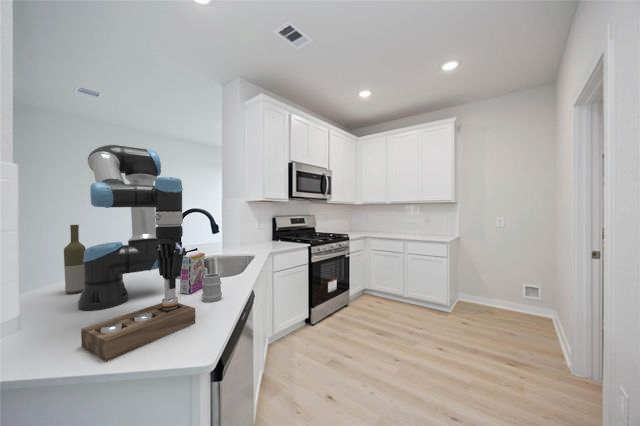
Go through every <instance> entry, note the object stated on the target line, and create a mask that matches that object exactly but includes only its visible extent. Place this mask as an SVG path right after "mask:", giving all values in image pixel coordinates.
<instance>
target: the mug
mask: <svg viewBox="0 0 640 426" xmlns="http://www.w3.org/2000/svg"><path fill="white" fill-rule="evenodd" d="M202 280H203V281H202V288H201V289H202V294H201V299H202V301H203V302H205V303H213V302H217V301H219V300H221V299H222V295H223V293H222V289H221V284H222V281H221V274H220V273H209V272H208V268H207V267H204V273H203V279H202Z"/></svg>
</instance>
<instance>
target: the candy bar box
mask: <svg viewBox="0 0 640 426" xmlns="http://www.w3.org/2000/svg"><path fill="white" fill-rule="evenodd" d="M205 257H206V256H205V253H204V252H194V253H189V254H186V255H185V254H184V255H183V261H182V268H181V275H180V276H179V277H180V283H179V289H180V290H179V294H180V295H191V294H193V293H194V292H197V291H199V290H201V289H202V281H203V280H202V279H203V273H204V268H206V267H205V261H206V260H205V259H206V258H205Z"/></svg>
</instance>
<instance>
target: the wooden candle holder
mask: <svg viewBox="0 0 640 426" xmlns="http://www.w3.org/2000/svg"><path fill="white" fill-rule="evenodd" d="M142 313H152V316H153V318H151V319H148V320H145V321H142V322H139V323H137V322H135V321H134V317H135V316H136V315H139V314H142ZM112 323H121V324H122V329H120V330H117V331H114V332H111V333H108V334H106V335H103V334H101V328H102V327H103V326H105V325H108V324H112ZM194 324H196V307H193V306H189V305H186V304H183V303H181V302H178V309H176V310H173V311H170V312H168V313H166V312H163V311H162V302H161V303H157V304H153V305H151V306H148V307H143V308H141V309H139V310H135V311H132V312H128V313H126V314H122V315H119V316H115V317H114V318H110V319H107V320H103V321H100V322H98V323H94V324H91V325H88V326H85V327H82V328H81V329H80V331H81V332H80V333H81V335H80V337H81V345H80V346H81V348H83V349H84V350H87V351H88V353H91V354H92V355H95V356H96V357H97V358H100V359H101V360H103V361H104V362H109V361H111V360H114V359H115V358H117V357H120V356H122V355H125V354H127V353H130V352H132V351H134V350H137V349H139V348H141V347H144V346H146V345H147V344H150V343H153V342H155V341H157V340H160V339H162V338H164V337H166V336H169V335H171V334H174V333H176V332H177V331H178V332H179V331H180V330H183V329H185V328H188V327H189V326H192V325H194Z"/></svg>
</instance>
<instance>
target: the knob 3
mask: <svg viewBox="0 0 640 426" xmlns="http://www.w3.org/2000/svg"><path fill="white" fill-rule="evenodd" d="M161 303H162V311H163V312H166V313H168V312H170V311H173V310H176V309H178V303H179V298H178V296H176V297H175V298H172V299H169V300H166V299H165V297H164V298H162V299H161Z"/></svg>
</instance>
